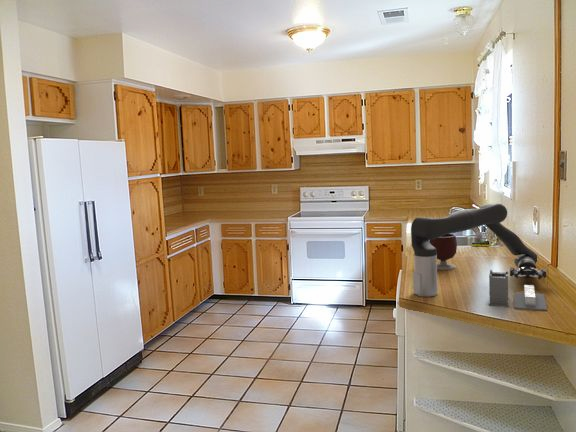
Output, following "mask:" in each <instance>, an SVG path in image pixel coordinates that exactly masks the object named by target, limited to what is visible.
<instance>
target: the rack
mask: <svg viewBox="0 0 576 432" xmlns="http://www.w3.org/2000/svg"><path fill="white" fill-rule="evenodd" d="M488 280H489V283H488V284H489V285H488V286H489V291H488V293H489V295H488V296H489V299H488V300H489V302H488V306H489V307H490V306H491V307H502V306H505V308H510V307H509V303H510V301H509V300H510V297H509V270H508V269H507V270H505V272H501V271H500V272H497V271H493V269H489V275H488Z"/></svg>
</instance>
